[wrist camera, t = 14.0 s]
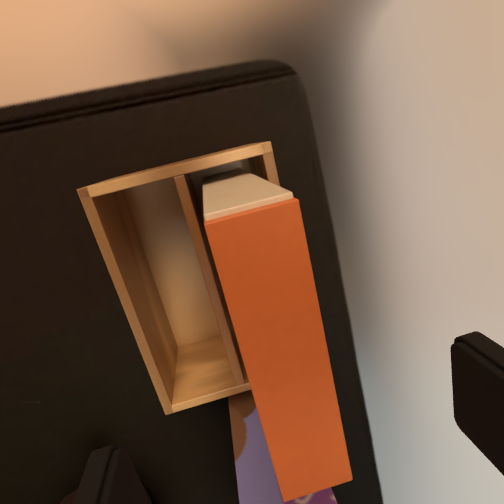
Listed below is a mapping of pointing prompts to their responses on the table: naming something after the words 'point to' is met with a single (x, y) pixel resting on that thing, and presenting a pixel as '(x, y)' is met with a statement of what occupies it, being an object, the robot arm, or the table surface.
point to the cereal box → (259, 458)
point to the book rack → (174, 272)
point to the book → (277, 327)
